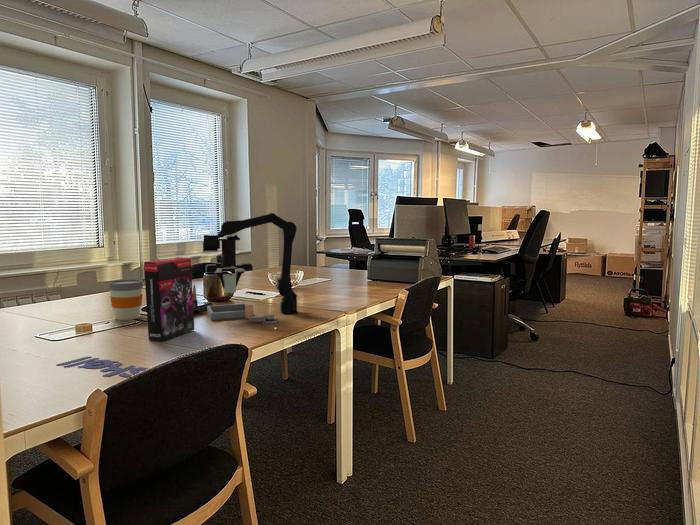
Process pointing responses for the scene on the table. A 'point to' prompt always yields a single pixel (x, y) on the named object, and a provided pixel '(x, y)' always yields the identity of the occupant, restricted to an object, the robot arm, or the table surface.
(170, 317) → the graphics card box
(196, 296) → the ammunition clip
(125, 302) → the reusable coffee cup
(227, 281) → the block
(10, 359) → the table surface
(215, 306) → the tray
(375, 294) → the table surface
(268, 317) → the crank
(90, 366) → the signage
